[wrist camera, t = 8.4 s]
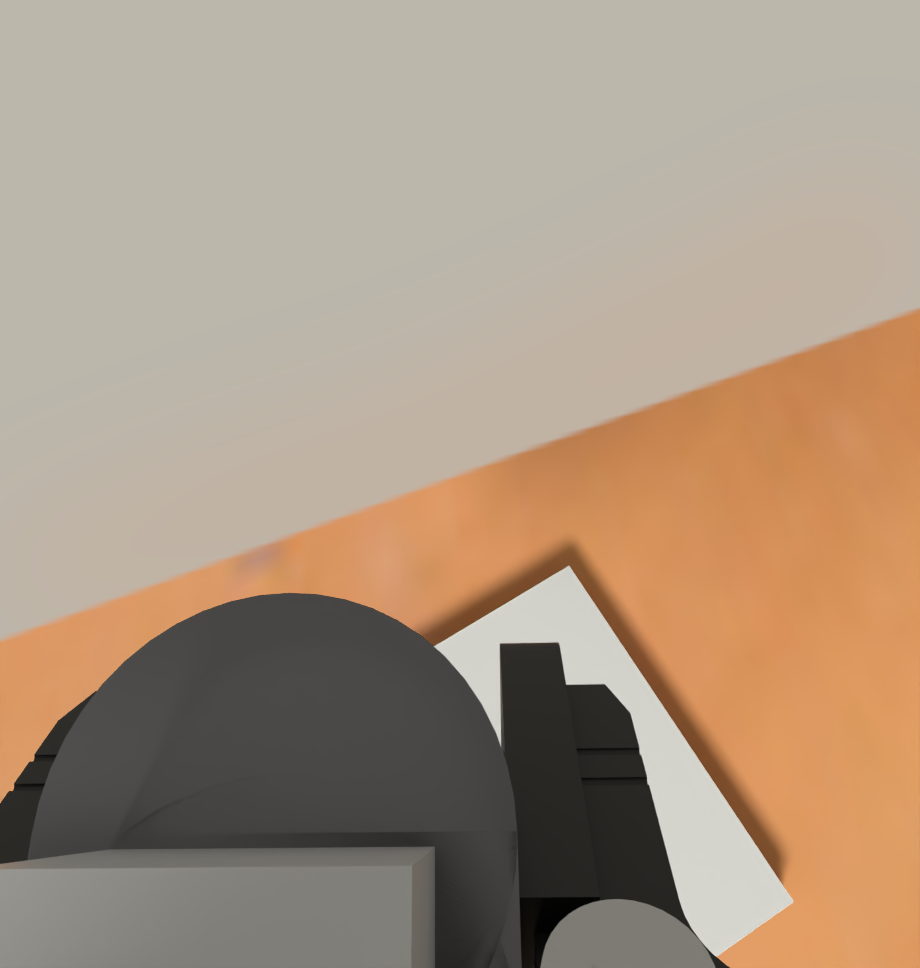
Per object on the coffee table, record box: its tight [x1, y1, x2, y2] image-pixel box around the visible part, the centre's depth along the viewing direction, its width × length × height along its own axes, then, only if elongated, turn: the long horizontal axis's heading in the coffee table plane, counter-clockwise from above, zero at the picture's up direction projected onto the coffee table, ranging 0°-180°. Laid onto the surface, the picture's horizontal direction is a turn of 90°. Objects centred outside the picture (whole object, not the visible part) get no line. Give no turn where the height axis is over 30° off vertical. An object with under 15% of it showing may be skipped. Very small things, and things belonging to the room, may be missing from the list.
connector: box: [0, 593, 522, 968], centre depth 8 cm, size 5×4×9 cm
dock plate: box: [434, 566, 794, 957], centre depth 25 cm, size 18×12×1 cm, turn 121°
